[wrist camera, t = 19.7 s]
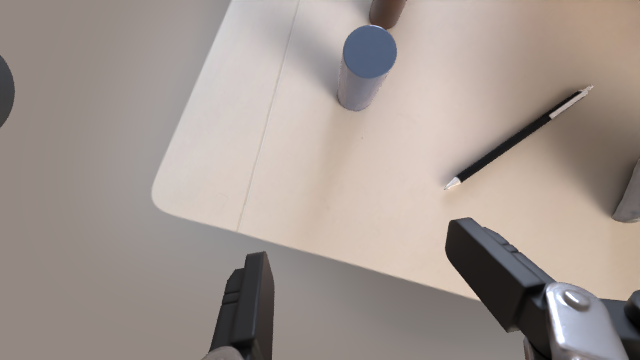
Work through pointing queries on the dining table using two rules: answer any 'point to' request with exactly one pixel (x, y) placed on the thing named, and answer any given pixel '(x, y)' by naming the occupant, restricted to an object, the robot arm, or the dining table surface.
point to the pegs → (386, 12)
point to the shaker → (364, 66)
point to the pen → (518, 137)
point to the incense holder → (630, 200)
